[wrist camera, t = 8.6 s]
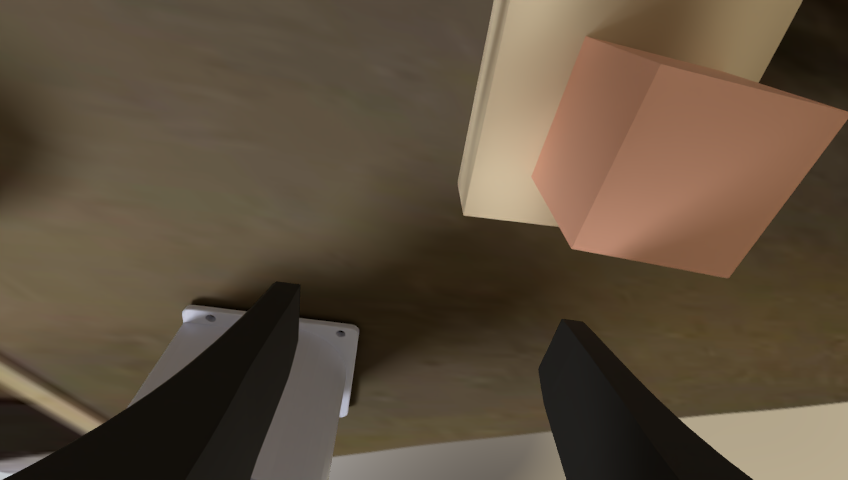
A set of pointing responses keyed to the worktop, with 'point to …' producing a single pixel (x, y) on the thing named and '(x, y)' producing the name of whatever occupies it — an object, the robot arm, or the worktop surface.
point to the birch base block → (553, 63)
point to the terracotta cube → (674, 158)
